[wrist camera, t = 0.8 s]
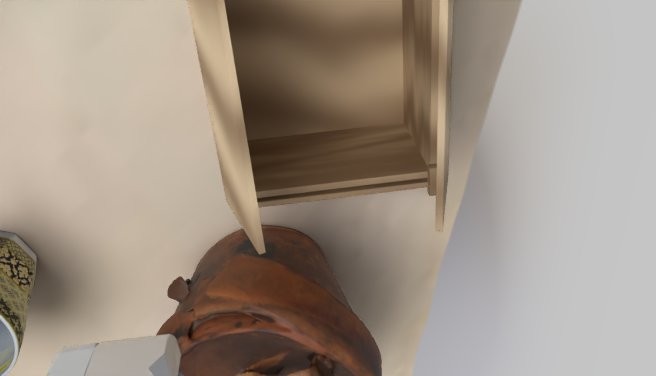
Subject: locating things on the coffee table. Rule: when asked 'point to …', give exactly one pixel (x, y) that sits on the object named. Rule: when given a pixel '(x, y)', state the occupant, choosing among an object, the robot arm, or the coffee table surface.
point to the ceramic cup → (14, 295)
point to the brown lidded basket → (268, 313)
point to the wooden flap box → (337, 95)
